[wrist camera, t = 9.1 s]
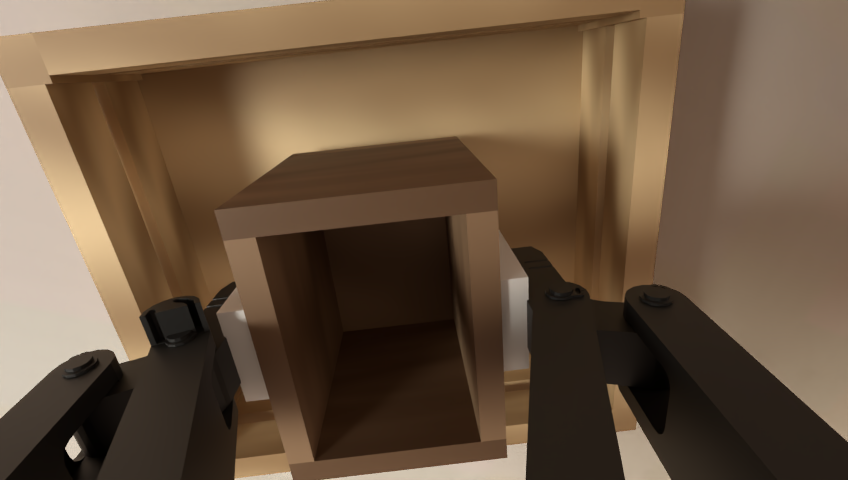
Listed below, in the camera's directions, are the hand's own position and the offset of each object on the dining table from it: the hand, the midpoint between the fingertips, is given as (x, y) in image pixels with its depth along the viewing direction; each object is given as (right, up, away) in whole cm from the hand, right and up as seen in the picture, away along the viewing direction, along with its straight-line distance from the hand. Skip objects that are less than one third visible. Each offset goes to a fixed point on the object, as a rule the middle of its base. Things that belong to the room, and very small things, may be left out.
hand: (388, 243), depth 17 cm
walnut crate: (0, 0, 0) cm, 0 cm away
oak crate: (0, +1, +2) cm, 2 cm away
